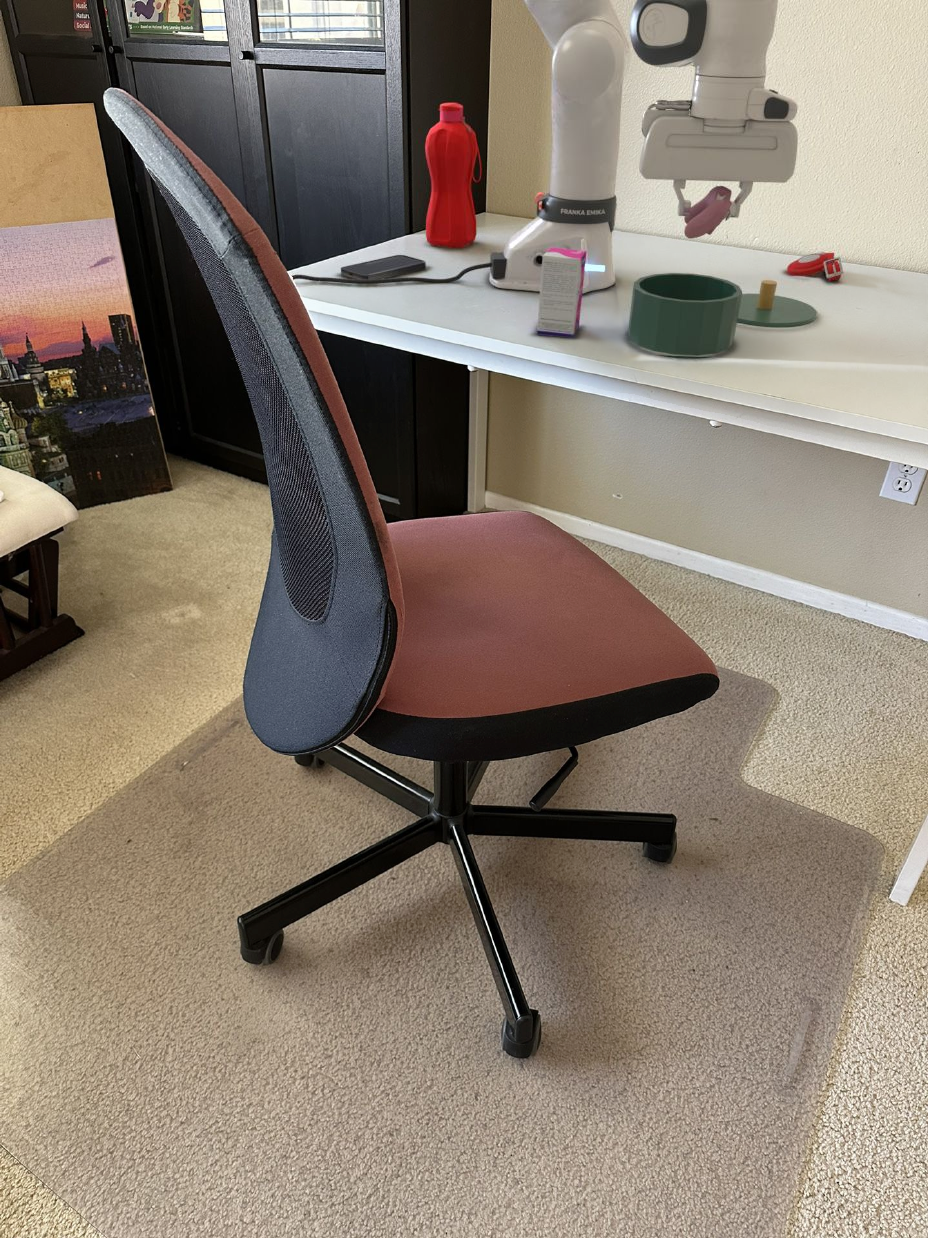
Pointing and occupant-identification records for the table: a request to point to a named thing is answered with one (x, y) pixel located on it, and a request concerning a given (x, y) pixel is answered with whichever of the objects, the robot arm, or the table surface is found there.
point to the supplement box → (561, 292)
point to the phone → (383, 267)
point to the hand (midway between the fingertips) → (707, 215)
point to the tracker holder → (817, 266)
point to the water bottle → (451, 179)
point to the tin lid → (773, 309)
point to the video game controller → (708, 212)
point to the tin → (684, 314)
